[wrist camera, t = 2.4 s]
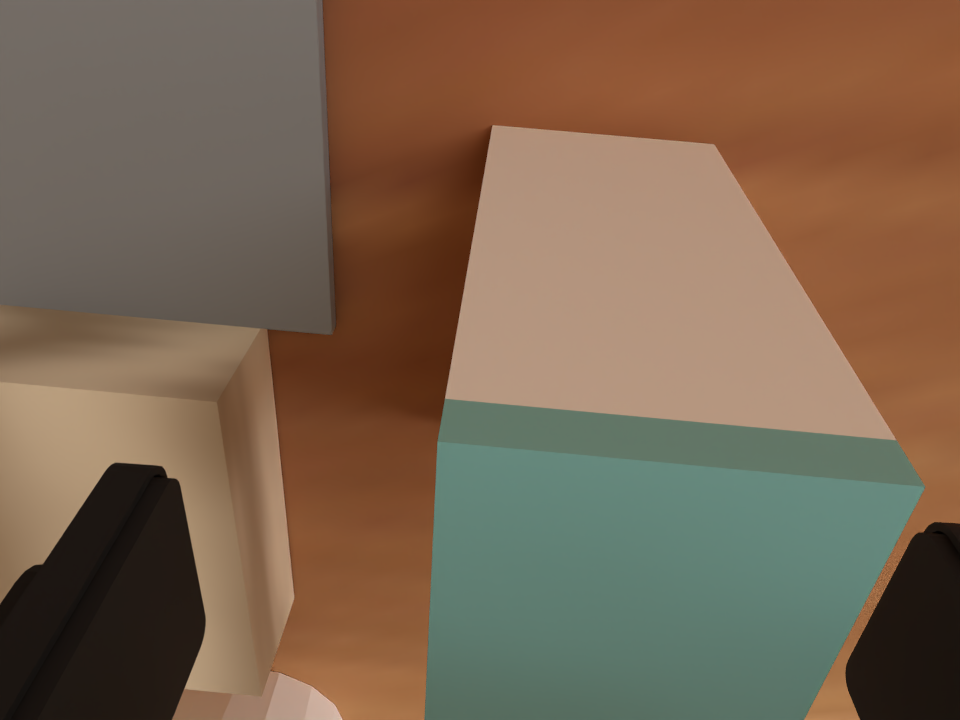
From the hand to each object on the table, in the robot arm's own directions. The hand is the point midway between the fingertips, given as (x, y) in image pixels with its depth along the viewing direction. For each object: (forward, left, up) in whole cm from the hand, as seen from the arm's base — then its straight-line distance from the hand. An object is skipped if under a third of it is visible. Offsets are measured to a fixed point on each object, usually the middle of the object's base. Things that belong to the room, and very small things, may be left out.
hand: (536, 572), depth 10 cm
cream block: (-1, 0, -7) cm, 7 cm away
